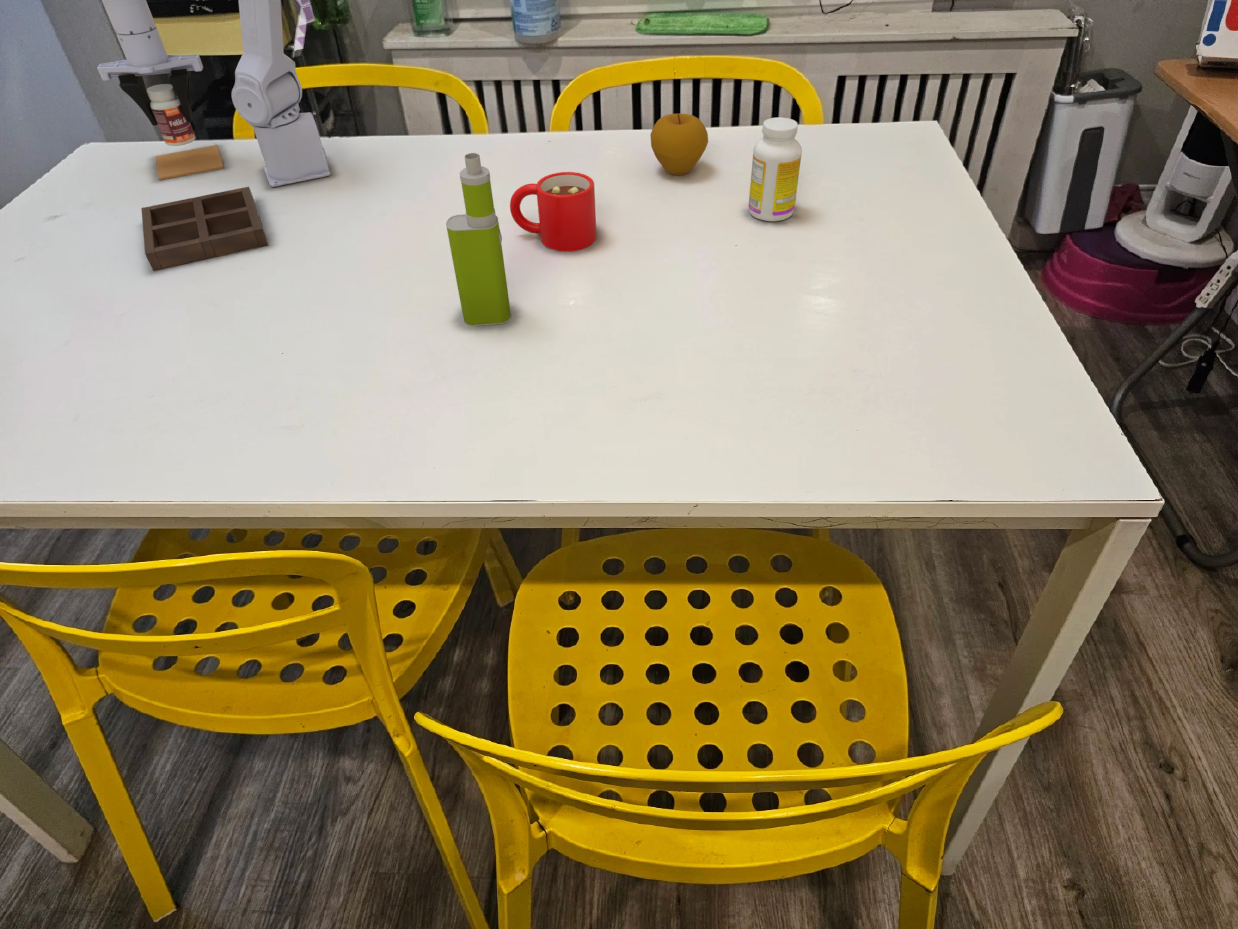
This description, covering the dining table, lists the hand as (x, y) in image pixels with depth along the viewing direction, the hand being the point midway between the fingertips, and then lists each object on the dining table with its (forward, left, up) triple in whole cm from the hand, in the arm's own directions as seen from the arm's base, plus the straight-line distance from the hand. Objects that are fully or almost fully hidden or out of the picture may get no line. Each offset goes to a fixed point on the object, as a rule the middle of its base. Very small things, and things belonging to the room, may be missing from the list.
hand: (172, 121), depth 129 cm
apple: (-71, +42, -7) cm, 83 cm away
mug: (-45, +53, -7) cm, 70 cm away
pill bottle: (0, 0, -3) cm, 3 cm away
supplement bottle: (-76, +61, -7) cm, 98 cm away
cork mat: (0, 0, -7) cm, 7 cm away
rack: (0, +29, -7) cm, 29 cm away
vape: (-30, +68, -7) cm, 75 cm away
